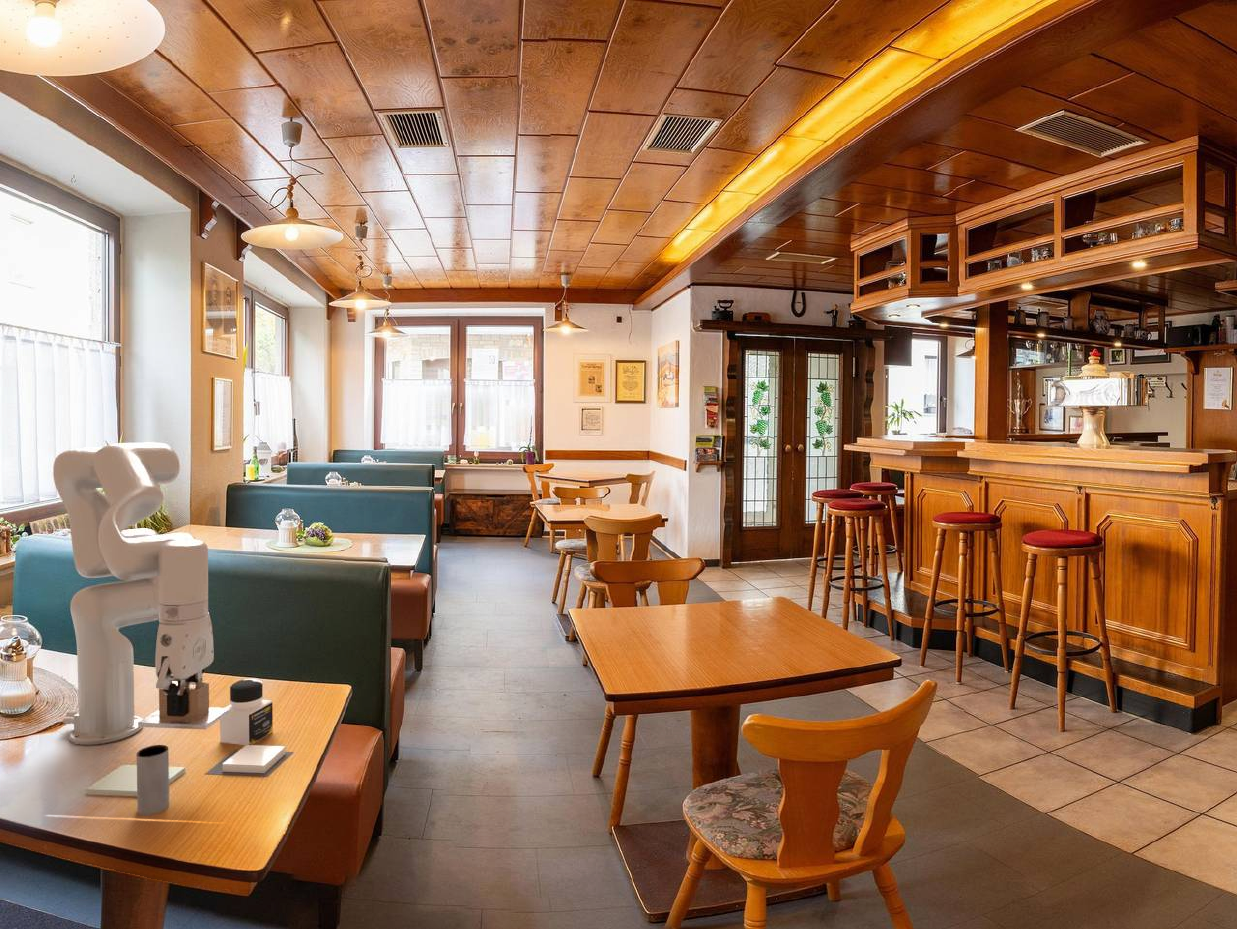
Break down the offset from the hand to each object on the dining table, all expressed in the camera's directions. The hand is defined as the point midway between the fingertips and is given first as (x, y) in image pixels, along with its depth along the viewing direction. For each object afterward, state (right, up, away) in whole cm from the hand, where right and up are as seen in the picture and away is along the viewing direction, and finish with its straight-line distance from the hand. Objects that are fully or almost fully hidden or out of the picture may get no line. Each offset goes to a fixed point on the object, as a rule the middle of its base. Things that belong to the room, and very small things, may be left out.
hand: (184, 710), depth 128 cm
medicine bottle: (0, -14, +22) cm, 25 cm away
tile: (+4, -13, +10) cm, 17 cm away
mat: (+7, -14, +10) cm, 19 cm away
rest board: (-10, -14, +2) cm, 17 cm away
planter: (-1, -15, -6) cm, 16 cm away
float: (0, -2, 0) cm, 2 cm away
